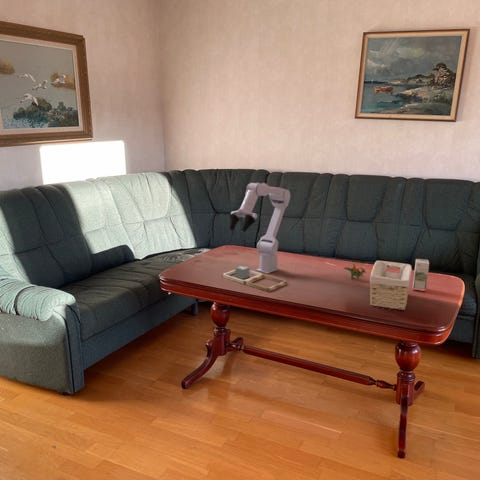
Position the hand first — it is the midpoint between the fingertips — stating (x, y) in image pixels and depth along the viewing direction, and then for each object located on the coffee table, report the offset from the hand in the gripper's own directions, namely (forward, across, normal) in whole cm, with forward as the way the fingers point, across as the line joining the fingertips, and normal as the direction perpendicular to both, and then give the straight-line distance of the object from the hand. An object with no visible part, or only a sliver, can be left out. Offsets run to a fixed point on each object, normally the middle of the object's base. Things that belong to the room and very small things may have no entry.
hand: (237, 230), depth 212 cm
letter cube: (+14, -8, +26) cm, 30 cm away
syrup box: (-9, +65, +63) cm, 91 cm away
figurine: (-6, +35, +56) cm, 66 cm away
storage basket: (+5, +60, +45) cm, 75 cm away
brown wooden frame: (+15, +7, +26) cm, 31 cm away
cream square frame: (+13, -8, +26) cm, 30 cm away
